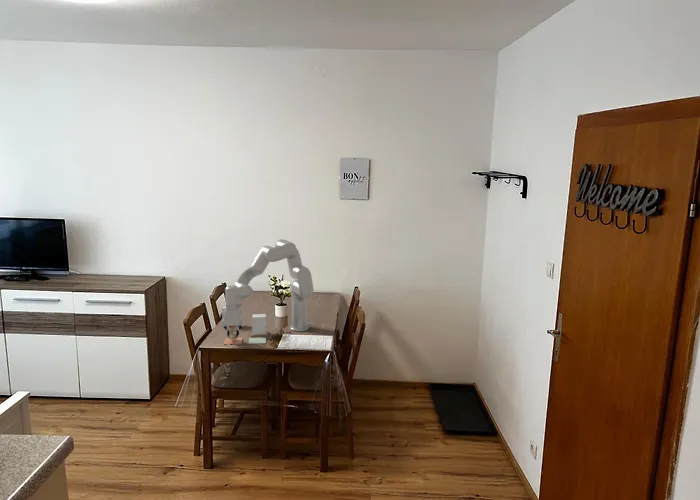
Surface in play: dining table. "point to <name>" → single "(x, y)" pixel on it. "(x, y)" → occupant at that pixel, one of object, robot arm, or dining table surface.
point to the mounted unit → (259, 326)
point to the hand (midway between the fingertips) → (233, 336)
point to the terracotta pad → (233, 341)
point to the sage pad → (257, 340)
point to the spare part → (232, 332)
